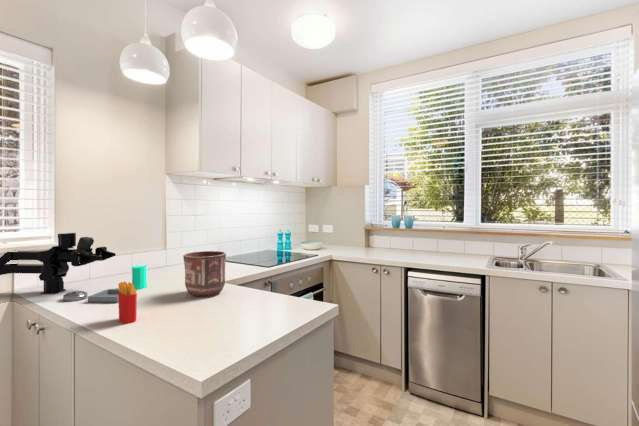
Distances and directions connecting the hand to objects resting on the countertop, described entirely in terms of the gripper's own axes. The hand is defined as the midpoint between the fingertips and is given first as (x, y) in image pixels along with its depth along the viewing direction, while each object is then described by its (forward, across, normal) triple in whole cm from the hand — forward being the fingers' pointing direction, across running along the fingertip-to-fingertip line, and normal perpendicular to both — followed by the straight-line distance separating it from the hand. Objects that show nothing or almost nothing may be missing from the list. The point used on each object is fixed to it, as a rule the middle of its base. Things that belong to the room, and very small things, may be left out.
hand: (108, 256), depth 144 cm
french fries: (+30, -34, +17) cm, 48 cm away
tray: (+8, -9, +16) cm, 20 cm away
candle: (+9, +9, +17) cm, 21 cm away
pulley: (-7, -10, +17) cm, 21 cm away
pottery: (+44, 0, +17) cm, 47 cm away
